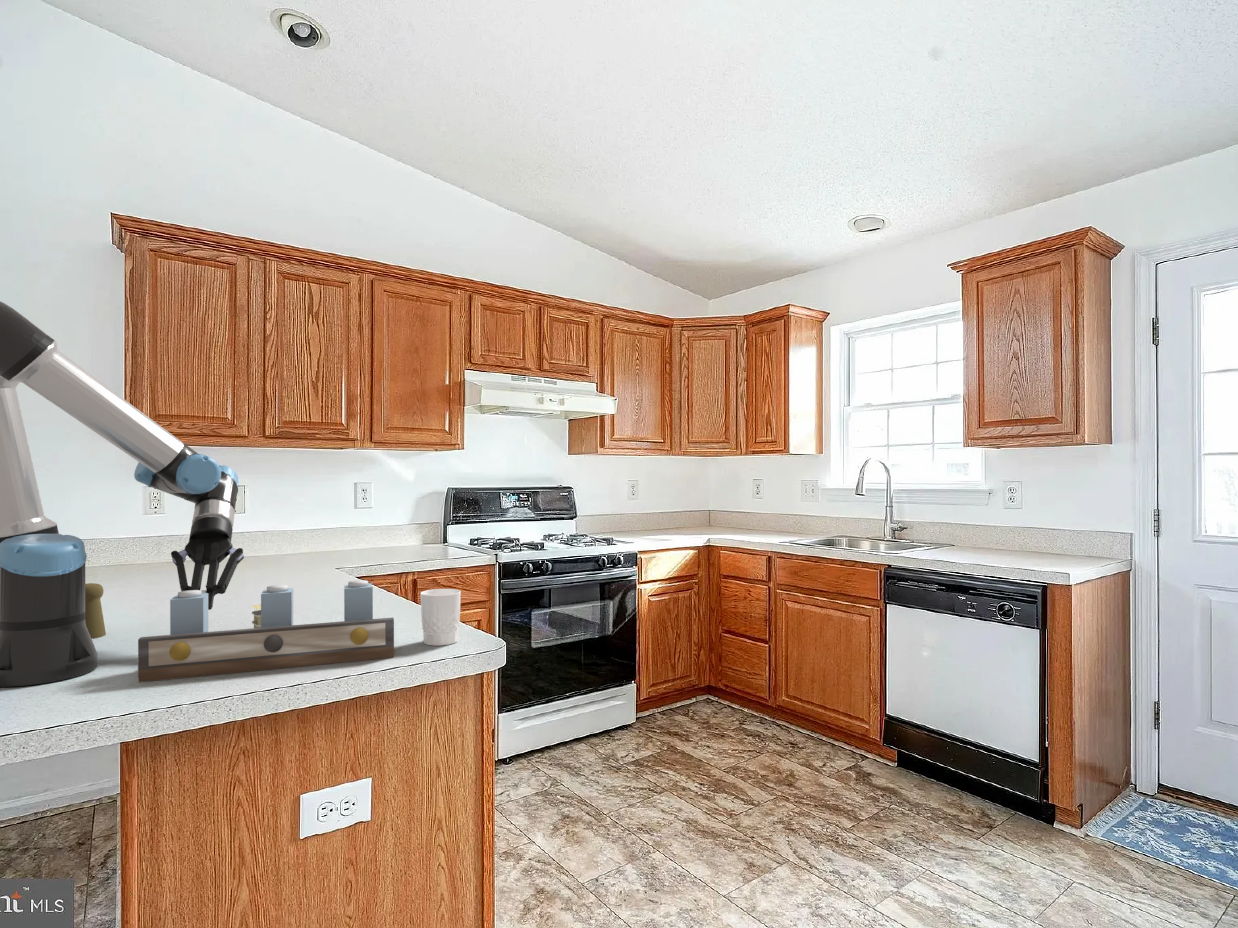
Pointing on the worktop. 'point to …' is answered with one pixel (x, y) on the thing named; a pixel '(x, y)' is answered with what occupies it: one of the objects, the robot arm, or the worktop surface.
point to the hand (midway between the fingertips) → (198, 623)
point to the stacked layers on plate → (257, 616)
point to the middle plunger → (277, 606)
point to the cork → (94, 610)
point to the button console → (263, 648)
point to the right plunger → (358, 600)
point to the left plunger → (189, 612)
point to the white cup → (440, 616)
